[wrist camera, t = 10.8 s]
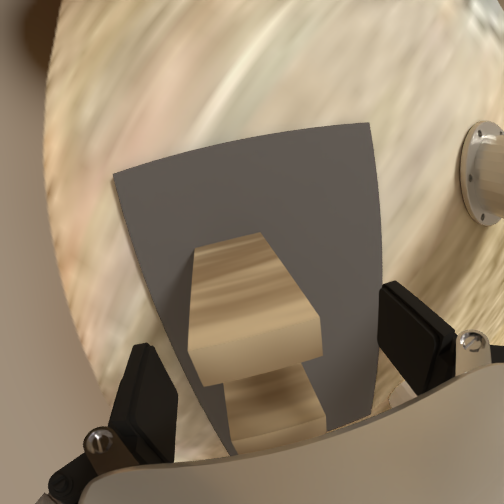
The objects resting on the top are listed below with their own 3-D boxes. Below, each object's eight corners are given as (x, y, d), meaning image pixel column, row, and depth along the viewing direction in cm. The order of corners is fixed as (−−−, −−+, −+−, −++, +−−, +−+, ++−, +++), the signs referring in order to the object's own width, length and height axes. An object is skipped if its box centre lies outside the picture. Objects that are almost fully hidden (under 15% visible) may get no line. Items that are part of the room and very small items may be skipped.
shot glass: (418, 365, 32) (446, 396, 25) (426, 385, 34) (450, 413, 28) (379, 396, 32) (403, 432, 26) (391, 412, 35) (412, 443, 28)
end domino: (194, 248, 21) (187, 351, 10) (260, 231, 21) (319, 317, 10) (201, 272, 22) (203, 386, 11) (265, 256, 22) (323, 355, 11)
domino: (216, 320, 23) (231, 441, 12) (274, 305, 24) (325, 416, 13) (222, 339, 24) (240, 457, 13) (278, 324, 24) (326, 434, 13)
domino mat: (365, 122, 20) (369, 122, 20) (368, 411, 33) (370, 414, 32) (115, 173, 19) (112, 174, 18) (230, 453, 31) (230, 456, 31)
